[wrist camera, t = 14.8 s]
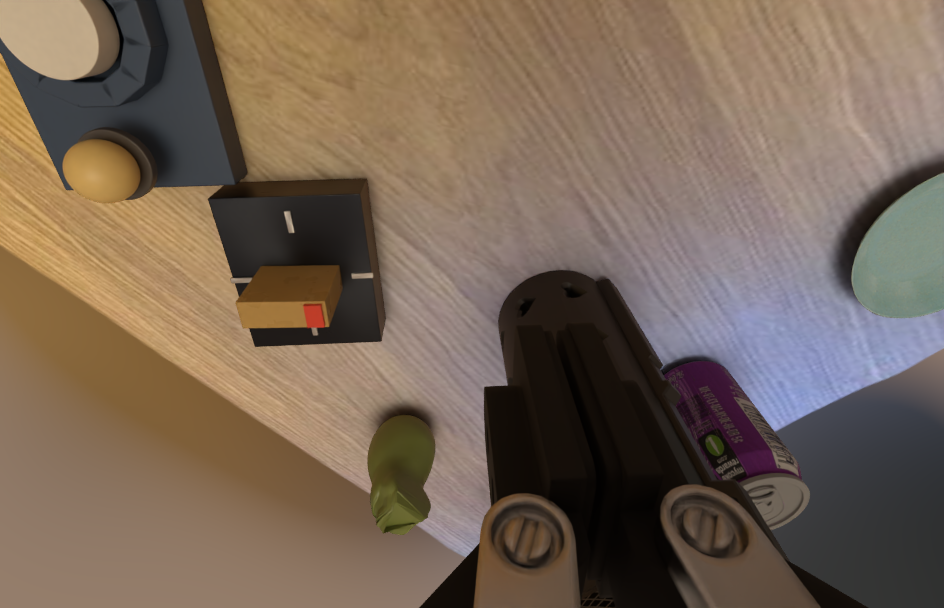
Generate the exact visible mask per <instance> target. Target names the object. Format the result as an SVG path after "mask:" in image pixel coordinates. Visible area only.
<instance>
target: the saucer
mask: <svg viewBox="0 0 944 608" xmlns="http://www.w3.org/2000/svg"><path fill="white" fill-rule="evenodd" d="M851 272H852V273H851V275H852V276H851V283H852V287H853V291H854V294H855V296H856V298H857V300H858V301H859V302H860V303H861V305H862V306H864V307H865V308H866V309H867V310H869V311H871V312H872V313H874V314H876V315H880V316H883V317H890V318H912V317H919V316H924V315H927V314H931V313H934V312H938V311H940V310H942V309H944V172H943V173H941V174H939V175H937V176H935V177H932V178H930V179H928V180H926V181H925V182H923V183H921V184H919V185H917V186H916V187H914V188H912V189H911V190H909V191H908V192H906V193H905V194H903V195H902V196H901V197H899V198H898V199H897V200H896V201H894V202H893V203H892V204H891V205H890V206H889V207H887V208H886V209H885V210H884V211H883V212H882V213H881V214H880V215H879V217H878V218H877V219H876V220H875V221H874V223H873V224H872V225H871V227H870V228H869V229H868V231H867V232H866V234H865V236H864V238H863V239H862V241H861V243H860V245H859V248H858V250H857V253H856V255H855V259H854V263H853V266H852V271H851Z"/></svg>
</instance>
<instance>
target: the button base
mask: <svg viewBox="0 0 944 608" xmlns="http://www.w3.org/2000/svg"><path fill="white" fill-rule="evenodd" d="M103 2H104V3H105V4H106V6H107V7H108V9H109V10H110V12H111V14H112V16H113V18H114V20H115V23H116V25H117V29H118V32H119V39H120V47H119V53H118V57H117V59H116V61H115V63H114V64H113V65H112V67H111V68H110V69H108V70H107V71H105V72H103V73H101V74H98V75H94V76H89V77H84V78H80V79H75V80H59V79H54V78H50V77H47V76H45V75H42V74H40V73H38V72H36V71H34V70H33V69H31V68H29V67H28V66H26V65H25V64H24V63H23V62H21V61H20V60H19V59H18V58H17V57H16V56H15V55H14V54H13V53H12V52H11V51H10V50H9V49H8V48H7V46H6V45H5V44H4V43H3V41H2V40H1V38H0V53H1V54H2V56H3V58H4V61H5V63H6V65H7V67H8V69H9V71H10V73H11V75H12V77H13V79H14V82H15V84H16V86H17V88H18V90H19V92H20V94H21V96H22V98H23V100H24V103H25V105H26V107H27V109H28V111H29V113H30V115H31V117H32V119H33V121H34V124H35V126H36V128H37V130H38V132H39V134H40V136H41V138H42V140H43V142H44V145H45V147H46V149H47V151H48V153H49V155H50V157H51V159H52V161H53V163H54V166H55V168H56V170H57V172H58V174H59V176H60V178H61V180H62V182H63V184H64V187H65V189H66V190H74V189H73V188H72V187H71V186H70V185H69V184H68V182H67V180H66V179H65V176H64V173H63V160H64V157H65V154H66V153H67V151H68V150H69V149H70V148H71V147H72V146H74V145H75V144H77V142H78V140H79V139H80V137H81V136H82V135H83V134H85V133H86V132H89V131H91V130H94V129H97V128H101V127H112V128H117V129H120V130H123V131H126V132H128V133H130V134H131V135H133V136H135V137H136V138H137V139H139V140H140V141H141V142H142V143H143V144H144V145H145V146H146V147H147V148H148V150H149V151H150V152H151V154H152V156H153V158H154V160H155V162H156V166H157V171H158V176H157V181H156V184H155V186H154V187H184V186H216V185H236V184H237V183H238V182H239V181H240V180H241V179H243V178H244V177H245V176H246V175H247V170H246V166H245V162H244V158H243V155H242V151H241V147H240V143H239V140H238V136H237V132H236V128H235V124H234V121H233V117H232V113H231V109H230V106H229V102H228V98H227V94H226V91H225V87H224V83H223V79H222V76H221V72H220V68H219V64H218V61H217V57H216V53H215V49H214V46H213V42H212V38H211V34H210V31H209V27H208V23H207V19H206V16H205V12H204V8H203V4H202V1H201V0H103Z"/></svg>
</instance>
